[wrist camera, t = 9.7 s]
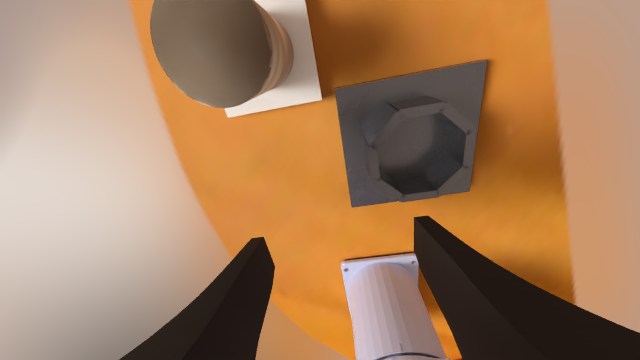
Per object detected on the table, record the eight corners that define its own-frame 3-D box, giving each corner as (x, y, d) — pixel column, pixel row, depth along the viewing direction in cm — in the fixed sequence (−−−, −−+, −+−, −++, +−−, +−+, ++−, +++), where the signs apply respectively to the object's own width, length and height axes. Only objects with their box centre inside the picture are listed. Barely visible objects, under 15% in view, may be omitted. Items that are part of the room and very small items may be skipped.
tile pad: (322, 97, 17) (321, 99, 16) (232, 114, 18) (228, 117, 17) (301, -23, 14) (300, -29, 13) (193, 4, 14) (185, 0, 14)
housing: (464, 186, 20) (488, 208, 17) (350, 202, 21) (354, 225, 18) (479, 60, 15) (515, 59, 13) (334, 88, 16) (336, 93, 14)
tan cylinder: (300, 83, 15) (283, 97, 9) (239, 95, 16) (183, 116, 10) (283, 4, 14) (248, -46, 7) (214, 21, 14) (125, -13, 8)
